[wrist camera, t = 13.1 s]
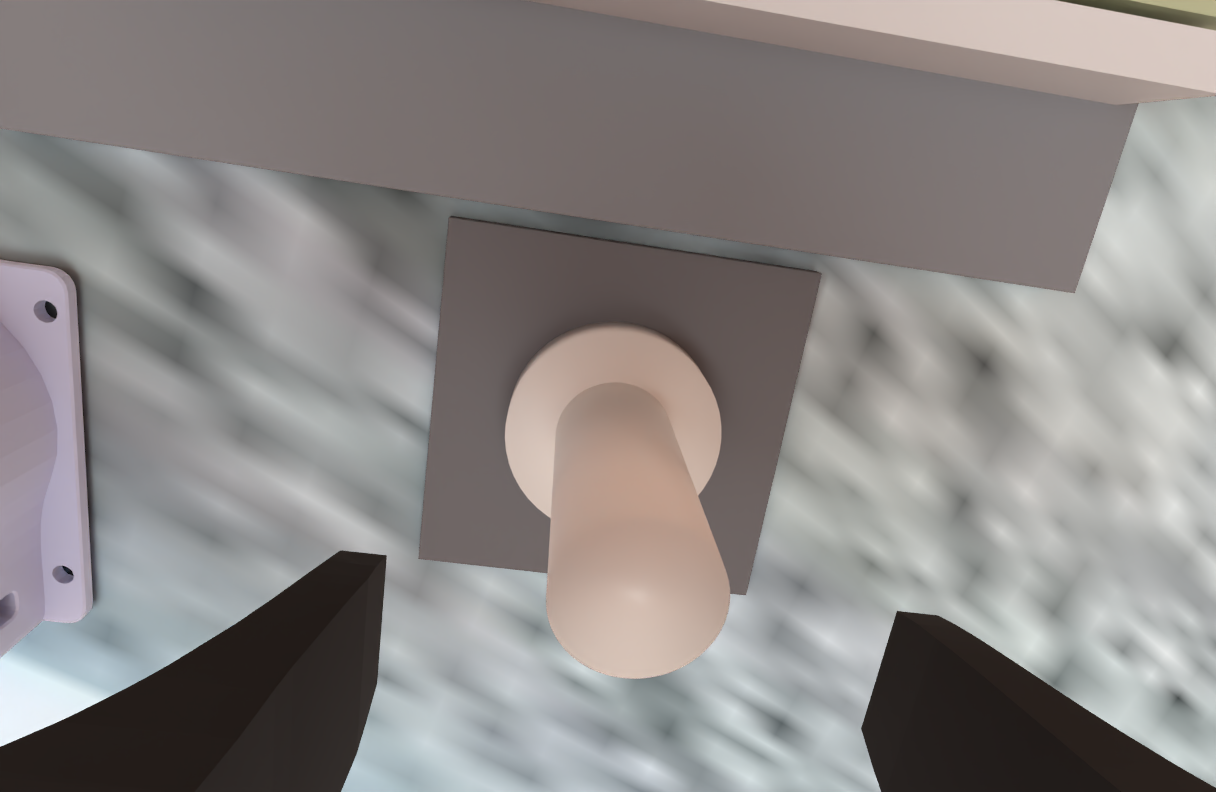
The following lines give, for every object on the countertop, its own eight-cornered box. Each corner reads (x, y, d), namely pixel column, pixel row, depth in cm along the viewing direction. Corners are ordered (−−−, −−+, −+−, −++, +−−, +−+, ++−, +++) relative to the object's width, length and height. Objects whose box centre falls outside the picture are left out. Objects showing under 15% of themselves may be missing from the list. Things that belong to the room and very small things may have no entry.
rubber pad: (742, 587, 21) (745, 594, 21) (421, 551, 21) (418, 558, 20) (816, 271, 19) (821, 273, 18) (451, 216, 18) (448, 217, 18)
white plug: (691, 525, 20) (767, 755, 12) (497, 501, 20) (449, 724, 12) (731, 337, 19) (845, 465, 11) (522, 307, 18) (486, 416, 11)
